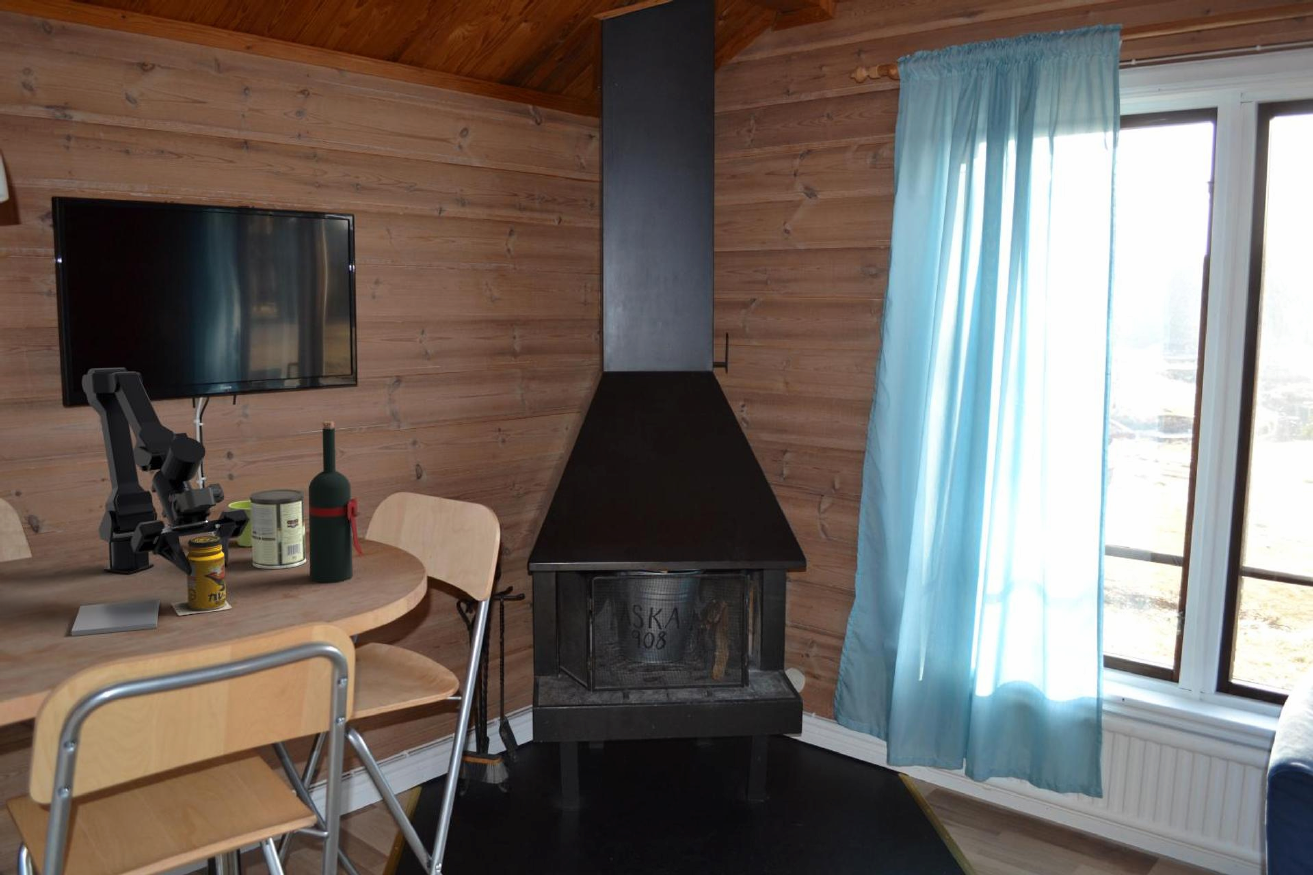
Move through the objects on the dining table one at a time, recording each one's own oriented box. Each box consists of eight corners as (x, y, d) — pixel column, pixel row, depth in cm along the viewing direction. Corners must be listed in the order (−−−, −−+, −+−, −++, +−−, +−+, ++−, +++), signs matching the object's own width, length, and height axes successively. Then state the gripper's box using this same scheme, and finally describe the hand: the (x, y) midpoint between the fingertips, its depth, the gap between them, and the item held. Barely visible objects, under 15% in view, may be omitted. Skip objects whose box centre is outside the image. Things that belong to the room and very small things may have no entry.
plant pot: (248, 537, 232) (247, 498, 231) (285, 541, 229) (284, 501, 228) (219, 546, 223) (218, 506, 222) (257, 550, 220) (256, 510, 219)
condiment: (232, 609, 180) (229, 540, 179) (178, 616, 176) (175, 546, 174) (223, 598, 186) (220, 532, 185) (171, 605, 182) (168, 537, 180)
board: (81, 610, 178) (80, 605, 177) (159, 603, 182) (159, 599, 182) (71, 635, 165) (71, 631, 165) (156, 627, 170) (156, 623, 169)
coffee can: (269, 554, 217) (267, 487, 215) (315, 558, 215) (314, 490, 213) (241, 567, 207) (238, 497, 205) (289, 571, 205) (287, 500, 203)
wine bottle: (354, 584, 197) (351, 425, 193) (302, 581, 198) (298, 423, 194) (370, 573, 204) (368, 420, 200) (320, 570, 206) (317, 418, 202)
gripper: (134, 475, 174) (165, 552, 168) (242, 463, 188) (275, 534, 182) (117, 515, 181) (147, 590, 175) (224, 500, 194) (254, 570, 188)
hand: (208, 570), depth 180 cm, fingers closed on condiment, 6 cm apart
